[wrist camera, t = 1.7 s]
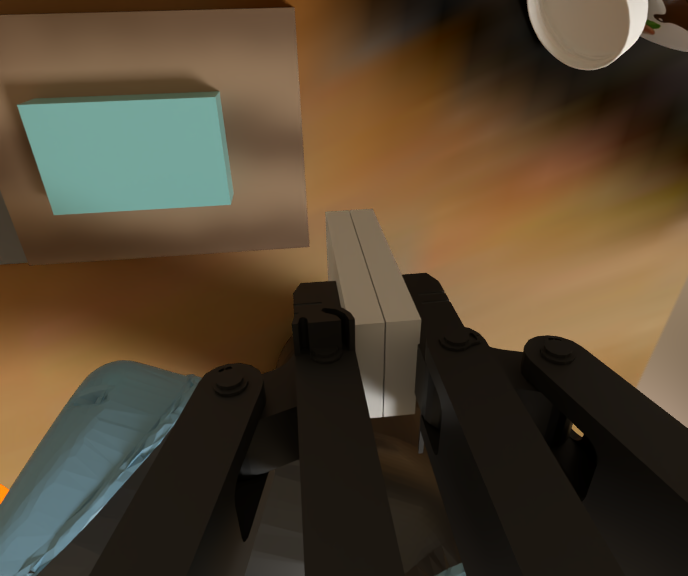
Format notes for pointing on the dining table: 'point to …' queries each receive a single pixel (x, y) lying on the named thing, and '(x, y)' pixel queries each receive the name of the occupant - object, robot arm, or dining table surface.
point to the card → (130, 151)
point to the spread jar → (606, 27)
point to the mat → (9, 238)
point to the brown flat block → (157, 78)
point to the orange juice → (3, 492)
